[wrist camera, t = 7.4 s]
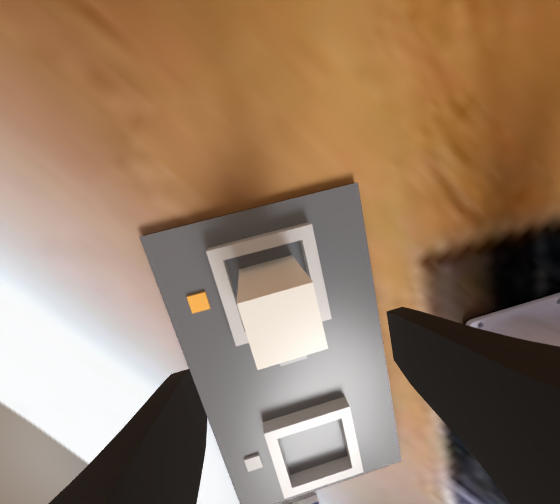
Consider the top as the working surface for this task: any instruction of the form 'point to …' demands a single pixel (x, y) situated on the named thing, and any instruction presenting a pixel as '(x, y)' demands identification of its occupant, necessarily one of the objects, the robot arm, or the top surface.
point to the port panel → (295, 376)
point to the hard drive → (308, 500)
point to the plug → (279, 312)
